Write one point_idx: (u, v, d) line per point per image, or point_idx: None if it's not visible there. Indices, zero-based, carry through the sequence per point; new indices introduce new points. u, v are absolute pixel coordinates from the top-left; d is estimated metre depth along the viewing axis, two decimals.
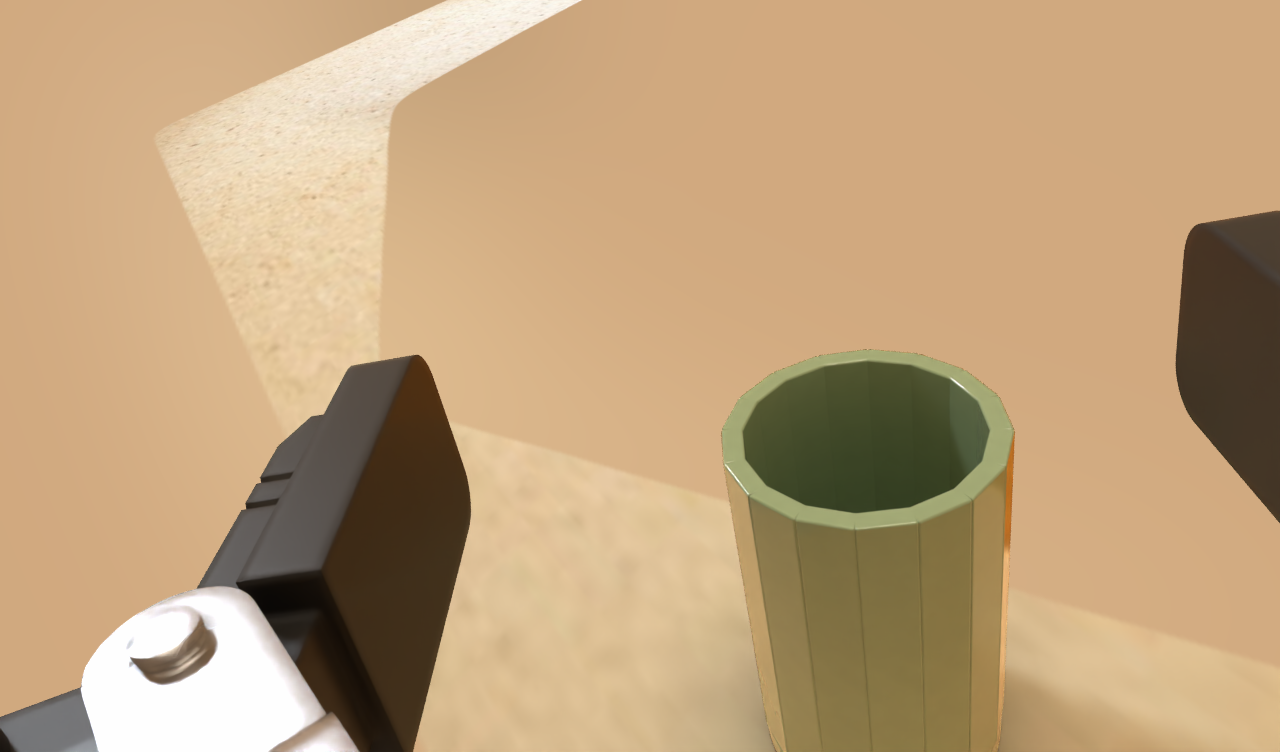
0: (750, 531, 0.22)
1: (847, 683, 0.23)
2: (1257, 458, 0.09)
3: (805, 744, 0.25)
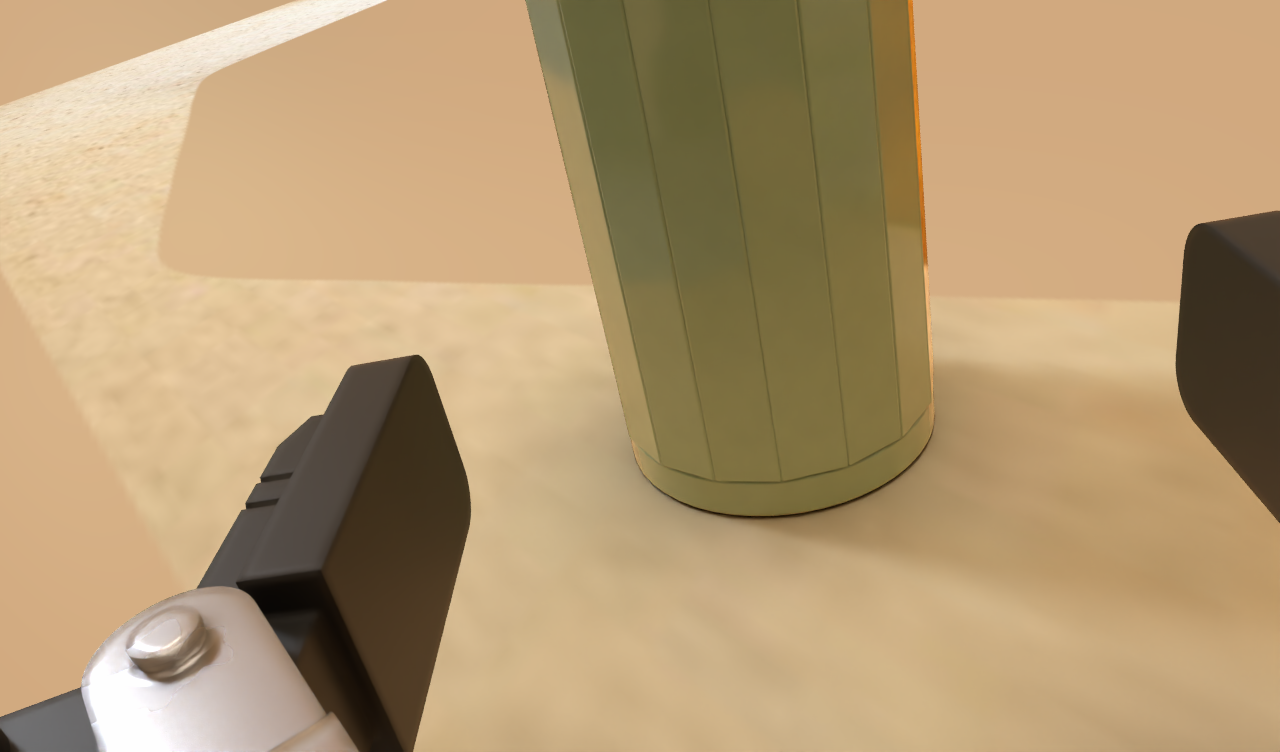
0: (560, 36, 0.15)
1: (720, 261, 0.16)
2: (1257, 458, 0.09)
3: (678, 415, 0.18)
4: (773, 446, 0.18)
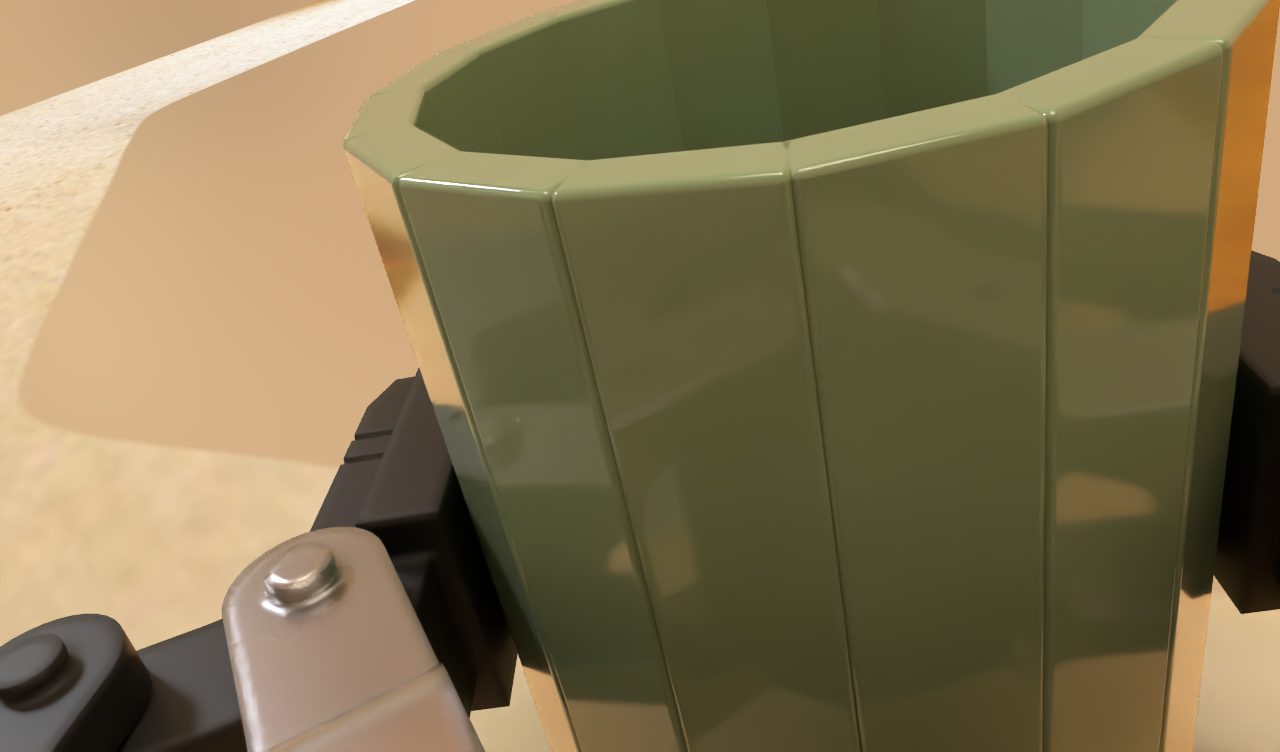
0: (441, 347, 0.07)
1: None
2: None
3: None
4: None
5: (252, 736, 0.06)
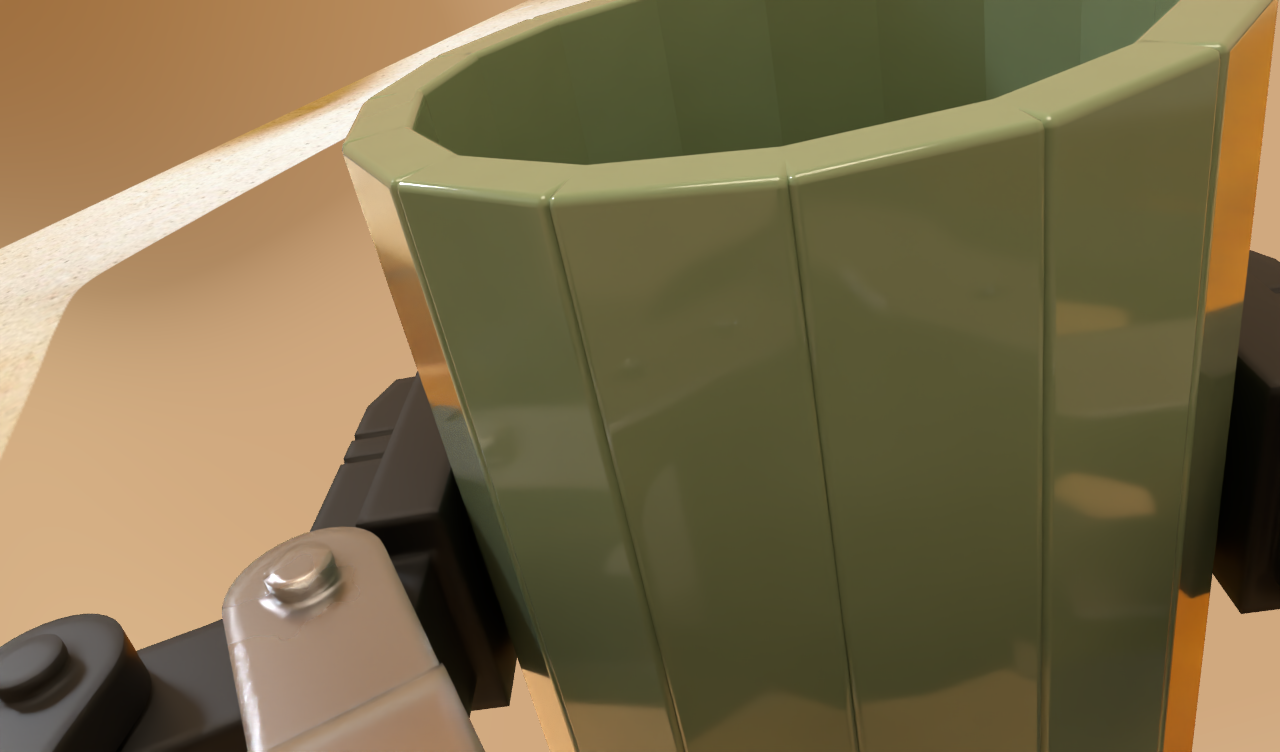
0: (440, 350, 0.07)
1: None
2: None
3: None
4: None
5: (252, 736, 0.06)
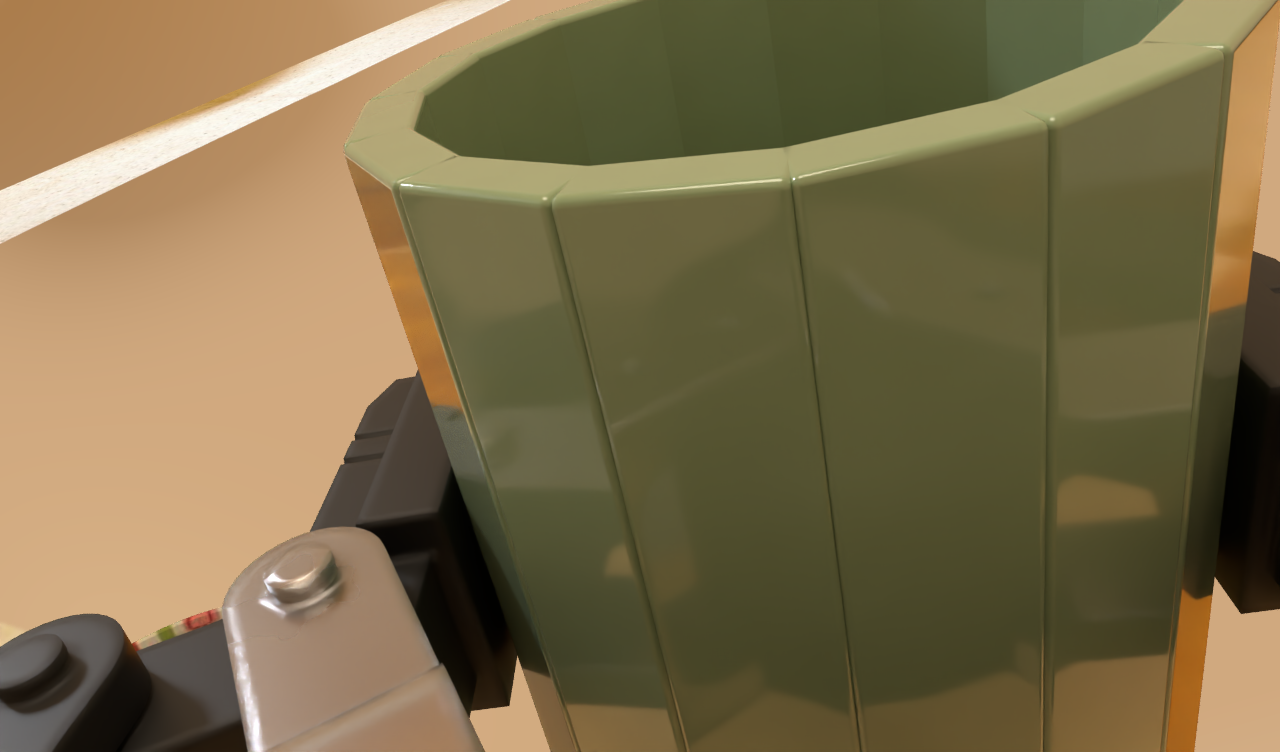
0: (441, 351, 0.07)
1: None
2: None
3: None
4: None
5: (252, 737, 0.06)
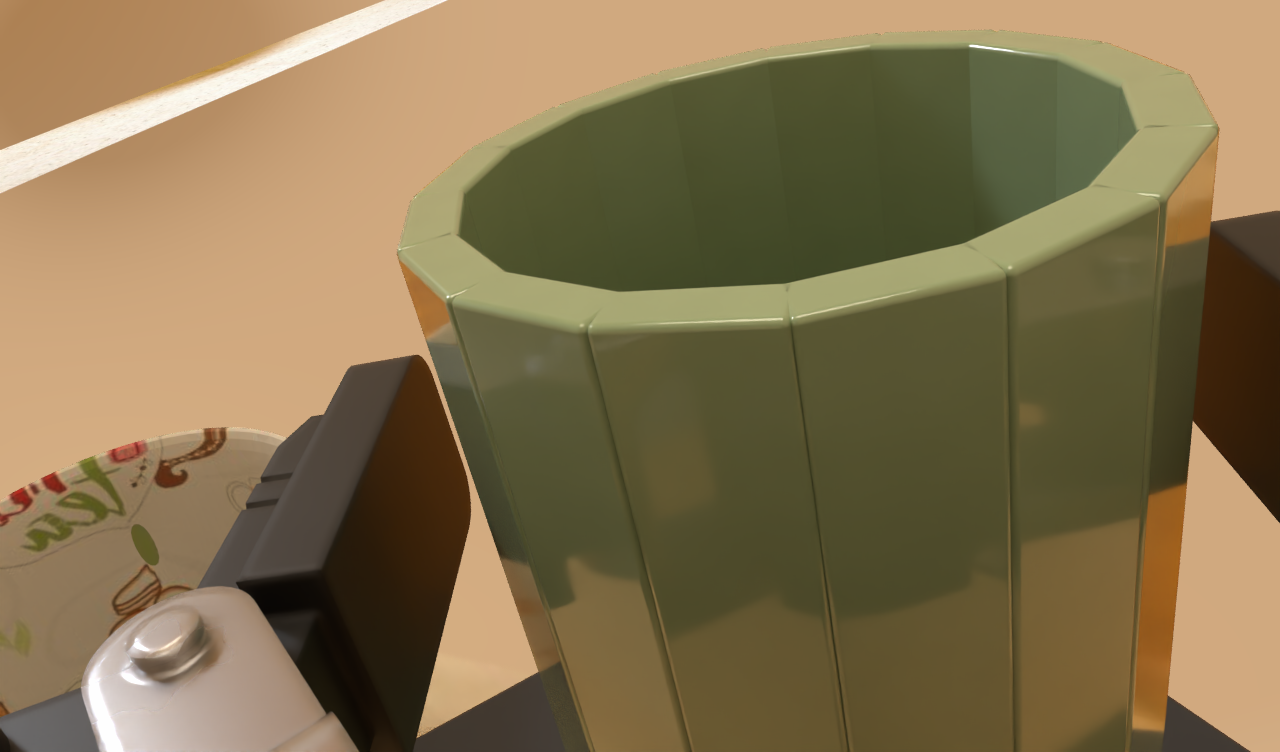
0: (485, 434, 0.07)
1: None
2: (1257, 458, 0.09)
3: None
4: None
5: None
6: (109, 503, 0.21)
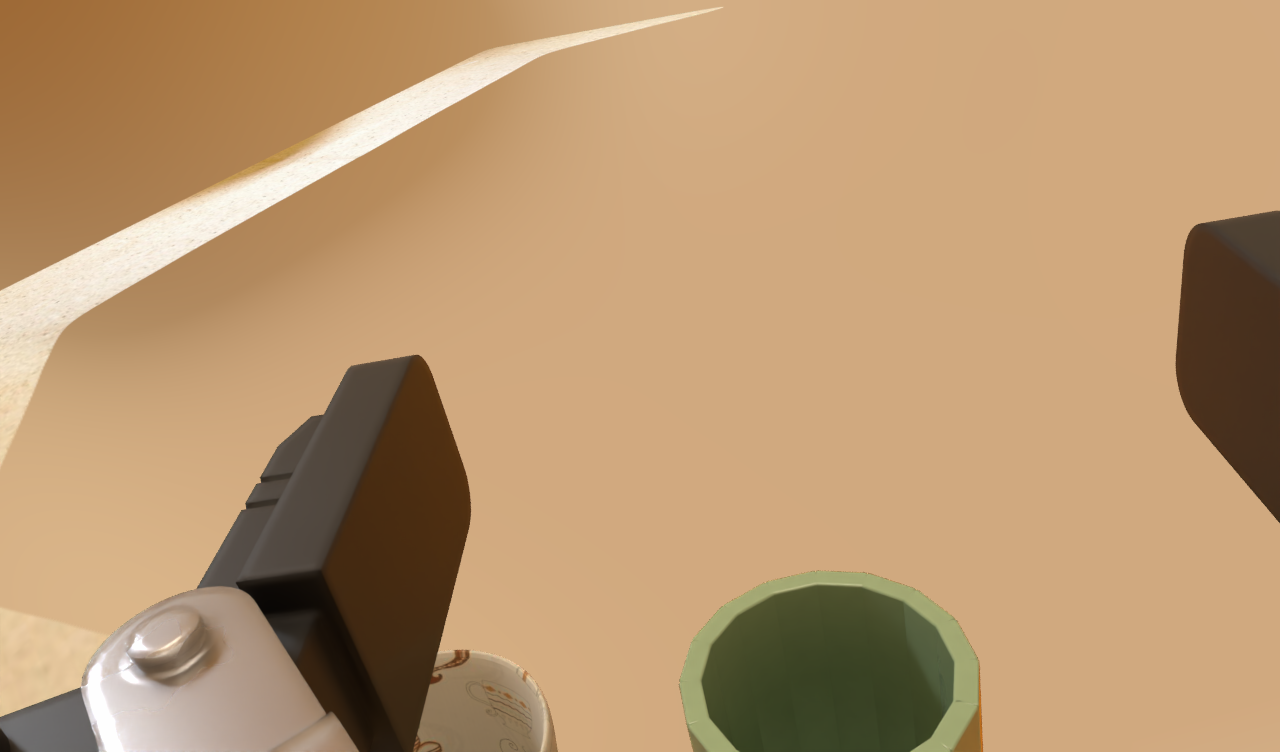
0: None
1: None
2: (1257, 458, 0.09)
3: None
4: None
5: None
6: None
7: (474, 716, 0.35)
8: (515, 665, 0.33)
